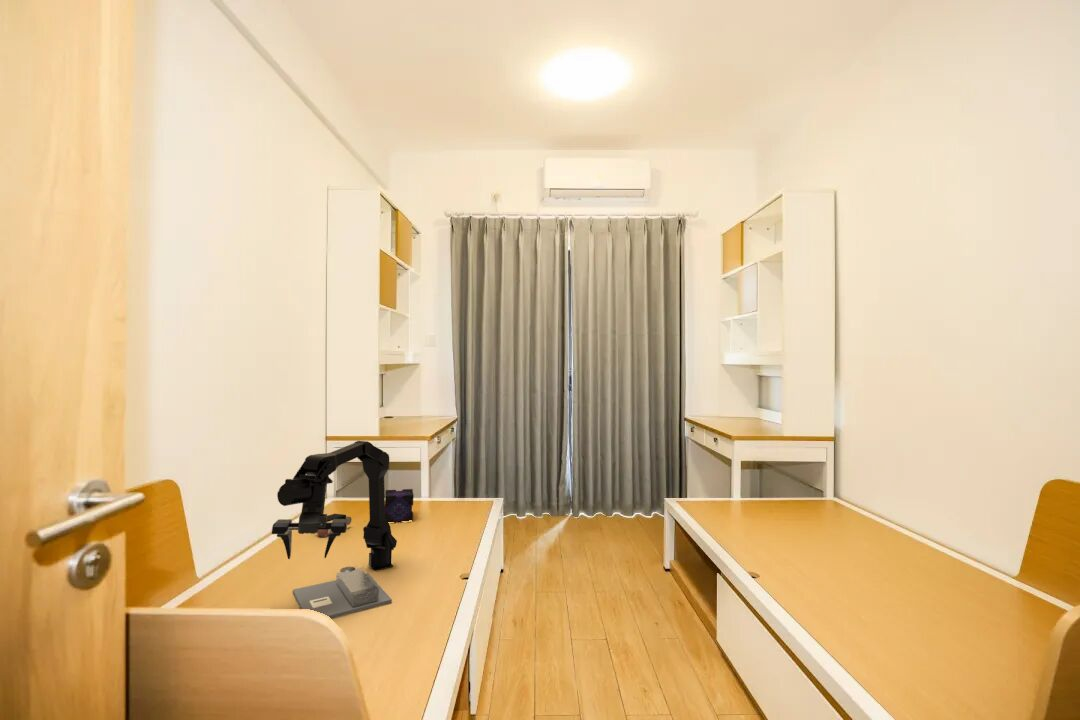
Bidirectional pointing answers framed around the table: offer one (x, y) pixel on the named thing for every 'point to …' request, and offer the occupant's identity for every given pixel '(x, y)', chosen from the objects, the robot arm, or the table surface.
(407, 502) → the energy cube
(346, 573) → the grey long block
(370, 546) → the robot arm
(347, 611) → the label board
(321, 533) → the figurine character
